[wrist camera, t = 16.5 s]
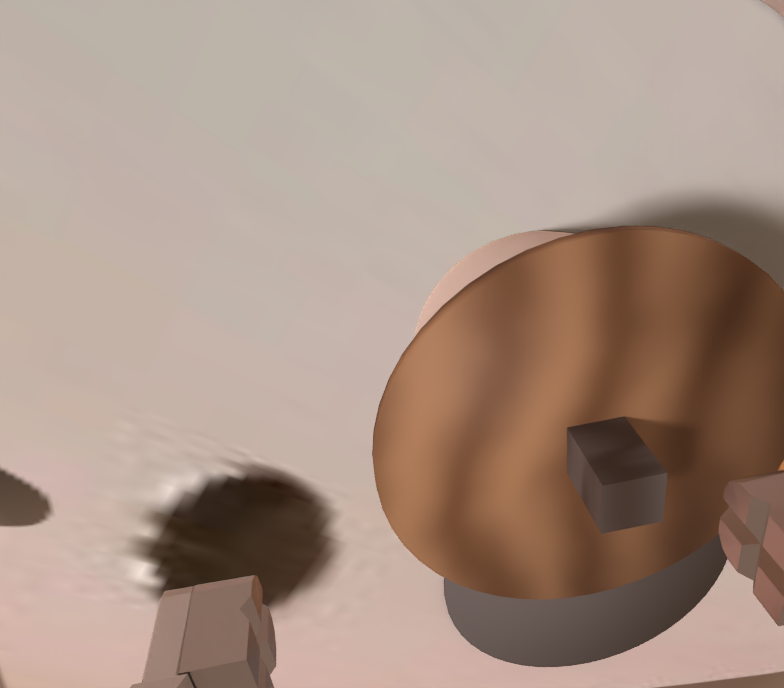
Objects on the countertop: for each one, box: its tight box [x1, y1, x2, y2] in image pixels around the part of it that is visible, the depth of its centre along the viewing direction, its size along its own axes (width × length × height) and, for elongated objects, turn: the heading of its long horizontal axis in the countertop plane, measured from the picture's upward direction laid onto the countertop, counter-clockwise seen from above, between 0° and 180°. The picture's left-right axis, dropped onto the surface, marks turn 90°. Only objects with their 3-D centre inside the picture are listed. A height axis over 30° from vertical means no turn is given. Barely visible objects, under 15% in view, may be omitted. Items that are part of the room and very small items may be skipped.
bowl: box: [413, 231, 573, 339], centre depth 45 cm, size 24×24×12 cm
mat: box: [444, 534, 727, 667], centre depth 63 cm, size 28×28×1 cm
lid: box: [372, 226, 784, 600], centre depth 37 cm, size 26×26×6 cm
